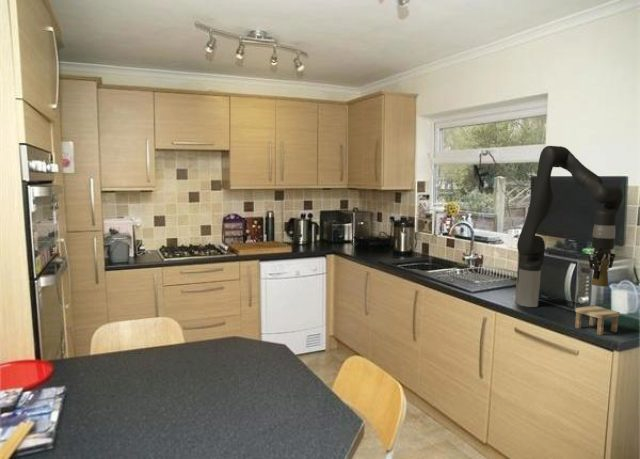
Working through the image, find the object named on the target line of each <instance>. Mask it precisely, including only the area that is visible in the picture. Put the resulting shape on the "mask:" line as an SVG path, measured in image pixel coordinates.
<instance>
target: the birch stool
mask: <svg viewBox="0 0 640 459" xmlns="http://www.w3.org/2000/svg"><path fill="white" fill-rule="evenodd" d="M583 315H586V316H588V317H589V320H588V321H589V323H588V325H590V326H595V325H597V326H596V335H598V336H603V334H604V325H605V319H610V318H611V326H610V331H611V332H612V333H616V332H618V326H619V325H618V324H619V317H620V315H621V314H620V311H617V310H612V309H609V308H606V307H601V306H597V305H593V304H590V305H586V306H585V305H584V306H580V307H575V320H574V321H575V324H574V328H576V329H581V328H582V318H583ZM596 318H597V324H596Z"/></svg>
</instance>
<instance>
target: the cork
mask: <svg viewBox="0 0 640 459" xmlns="http://www.w3.org/2000/svg"><path fill="white" fill-rule="evenodd" d="M597 262H598V263H600V262H601V261H597ZM597 265H598V264H597ZM608 265H609V259H607V258H605V259H604V260H603V265H601V270H600V276H599V280H598V279H595V278H594V279H593V276H594V272H593V274H592V277H591V282H590V284H591V285H592V286H594V287H595V286H596V287H603V288H604V287H605V288H606V287H609V275H608V270H607V266H608Z"/></svg>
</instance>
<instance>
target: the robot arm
mask: <svg viewBox="0 0 640 459" xmlns="http://www.w3.org/2000/svg"><path fill="white" fill-rule="evenodd" d="M554 168H562V170H563V169H564V170H565V171H567V172H569V173H570V174H571V177H572V179H573V181H574V182H575V183H576V184H577V185H579V186H580V187H581V188H582V189H583V190H585V191H586V192H587V194H588V196H589V197H590V199H591V200H593V201H594V202H595V203H598V204H603V207H602V208H601V209H598V210H596V211H595V214H594V224H593V225H594V226H593V229H592V240H591V247H592V248H593V249H594V250H593V253H592V254H588V258H587V259H588V263H589V269H590V270H591V269H592V270H593V273H594V276H593V275H592V277H593V279H594V278H595V279H598V280H599V276H600V270H601V265H603V260H604V259H605V258H607V259H609V265H608V266H607V271H608V270H610V269H612V267H613V265H614V261H615V258H616V253H614V252H613V253H612V250H613V249H615V243H616V242H615V241H616V223H617V222H616V220H617V214H618V212H619V210H620V206H621V204H622V201H623V197H624V196H623V195H624V194H623V190H622V188H621V187H619V186H618V185H612V184H611V185H606V184H603V183H604V181H603V178H601V176H599V175H597V174H596V173H594V171H592V170H591V169H589V168H588V167H586V166H585V165H584V164H583V163H582V162H581V161H580V160H579V159H578V158H577V157H576V156H575V155H574V154H573V153H572V152H571V151H570V150H569V149H568V148H566V147H564V146H561V145H560V146H559V145H547V146H545V147H543V148H542V150H541V152H540V155H539V158H538V165H537V172H536V178H535V182H534V186H533V189H532V194H531V197H530V201H529V205H528V209H527V213H526V217H525V219H524V224H523V226H522V229H521V231H520V233H519V236H518V239H517V244H516V248H517V252H518V253H519V254H520V255H522V256H526V258H525V259H523V260H522V261H521V262H520V263H519V272H518V282H517V283H516V286H515V287H516V288H515V304H517V305H519V306H521V307H525V308H526V307H527V308H537V307H538V306H539V298H540V297H539V296H540V287H541V286H540V285H541V273H542V272H541V271H542V270H541V269H542V267H543V264H544V259H545V250H546V244H545V240H544V238H543V237H542V236H540V235H536V233H537V231H538V229H539V227H540V225H542V223H543V222H544V221H545V219H546V218H548V215H549V214H550V213H551V209H552V208H553V203H554V199H555V194H554V190H553V186H552V183H551V182H552V181H551V177H552V171H553V169H554ZM597 261H601V262H600V263H598V262H597ZM597 264H598V265H597Z"/></svg>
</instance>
